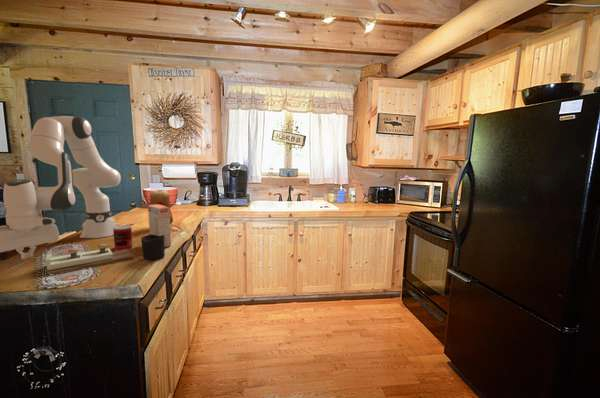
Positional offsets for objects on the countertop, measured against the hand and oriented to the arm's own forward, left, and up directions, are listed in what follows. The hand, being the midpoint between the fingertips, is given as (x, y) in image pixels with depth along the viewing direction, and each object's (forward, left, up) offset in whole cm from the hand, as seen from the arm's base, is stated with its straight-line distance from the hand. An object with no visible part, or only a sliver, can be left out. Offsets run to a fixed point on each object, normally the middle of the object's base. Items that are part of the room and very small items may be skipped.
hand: (27, 257), depth 107 cm
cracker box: (-8, +50, -7) cm, 51 cm away
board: (0, +20, -7) cm, 21 cm away
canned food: (-13, +34, -7) cm, 37 cm away
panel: (0, +16, -5) cm, 17 cm away
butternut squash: (-43, +60, -7) cm, 74 cm away
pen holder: (+11, +42, -7) cm, 44 cm away
